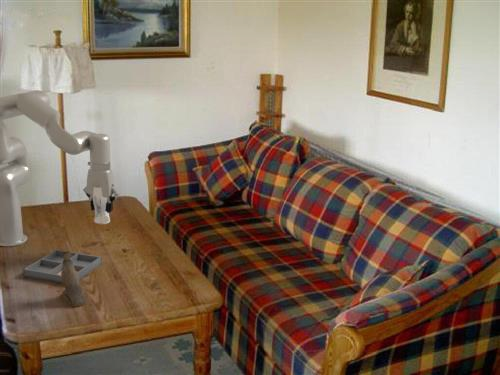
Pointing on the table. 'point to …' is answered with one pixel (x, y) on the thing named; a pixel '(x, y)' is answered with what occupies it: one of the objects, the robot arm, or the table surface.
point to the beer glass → (100, 206)
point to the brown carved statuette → (71, 283)
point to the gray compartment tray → (61, 266)
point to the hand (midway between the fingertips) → (101, 210)
